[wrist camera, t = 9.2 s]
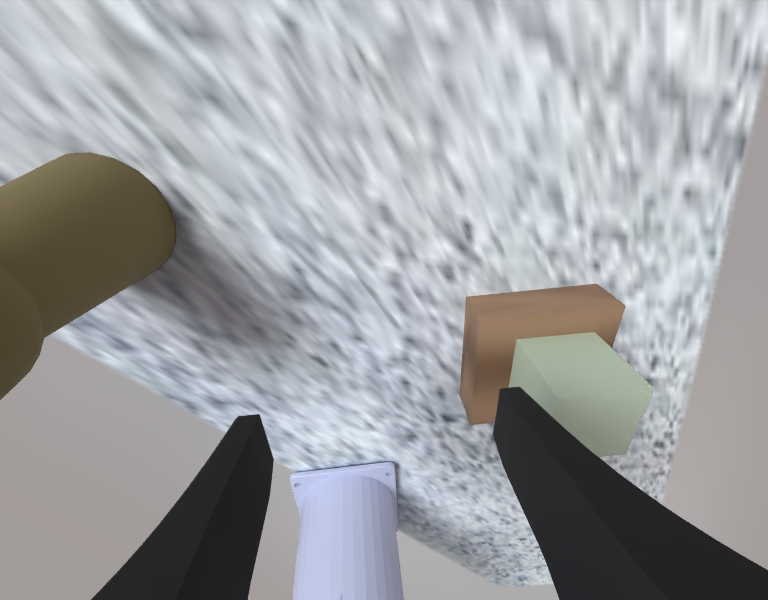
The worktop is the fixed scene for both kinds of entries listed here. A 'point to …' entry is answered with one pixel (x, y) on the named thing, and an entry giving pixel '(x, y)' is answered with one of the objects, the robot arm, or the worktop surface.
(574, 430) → the sage cube
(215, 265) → the worktop surface
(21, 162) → the worktop surface
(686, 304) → the worktop surface
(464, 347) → the walnut block
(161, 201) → the cork
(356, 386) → the worktop surface
